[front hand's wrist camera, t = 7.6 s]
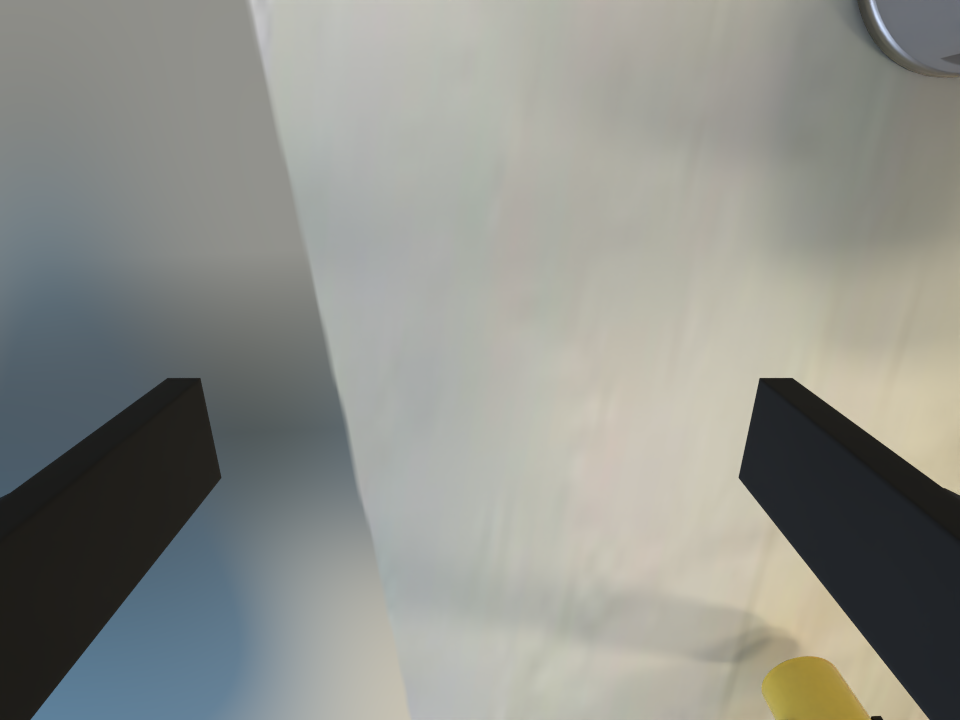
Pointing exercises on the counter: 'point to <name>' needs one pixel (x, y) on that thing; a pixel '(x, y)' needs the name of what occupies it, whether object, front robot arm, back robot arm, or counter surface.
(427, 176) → the counter surface
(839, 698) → the cylinder
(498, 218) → the counter surface
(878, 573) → the front robot arm
